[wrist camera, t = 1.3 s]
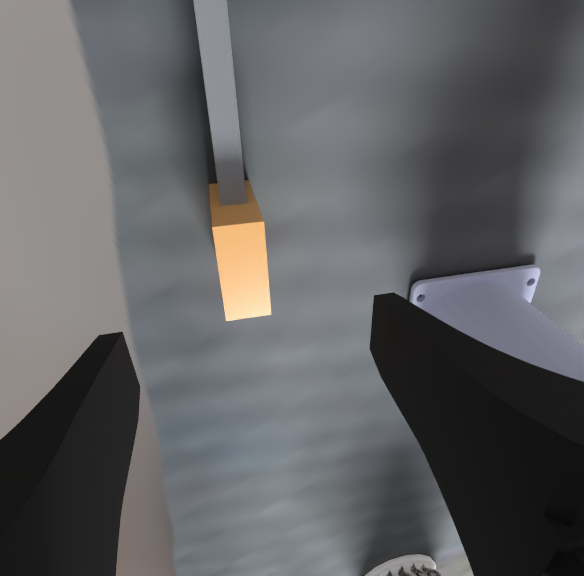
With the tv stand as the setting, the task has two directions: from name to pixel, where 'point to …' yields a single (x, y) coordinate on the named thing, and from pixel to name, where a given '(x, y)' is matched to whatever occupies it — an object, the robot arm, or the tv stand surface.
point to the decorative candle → (406, 567)
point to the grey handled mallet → (231, 175)
